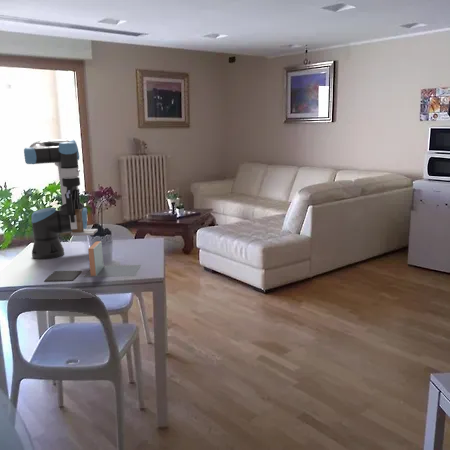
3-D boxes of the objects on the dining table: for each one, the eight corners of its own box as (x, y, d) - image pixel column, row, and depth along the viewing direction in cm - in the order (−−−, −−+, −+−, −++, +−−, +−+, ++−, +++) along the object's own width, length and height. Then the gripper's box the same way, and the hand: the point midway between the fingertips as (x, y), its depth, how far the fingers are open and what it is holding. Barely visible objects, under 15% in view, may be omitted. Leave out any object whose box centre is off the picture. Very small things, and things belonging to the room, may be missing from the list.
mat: (93, 267, 214) (93, 266, 214) (141, 265, 213) (141, 264, 213) (83, 278, 199) (83, 277, 199) (135, 276, 199) (134, 275, 199)
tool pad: (54, 273, 206) (54, 271, 206) (81, 272, 206) (81, 270, 206) (44, 282, 195) (44, 280, 195) (73, 282, 195) (72, 279, 194)
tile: (98, 267, 212) (95, 241, 209) (103, 266, 212) (101, 241, 209) (90, 275, 200) (88, 248, 198) (96, 275, 200) (94, 248, 198)
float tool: (76, 231, 220) (74, 208, 217) (97, 230, 220) (95, 208, 217) (71, 235, 212) (68, 212, 210) (93, 235, 212) (90, 211, 210)
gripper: (72, 179, 202) (78, 232, 207) (84, 174, 218) (89, 223, 224) (55, 180, 202) (61, 232, 207) (68, 174, 218) (73, 223, 224)
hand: (75, 227), depth 215 cm, fingers closed on float tool, 4 cm apart
